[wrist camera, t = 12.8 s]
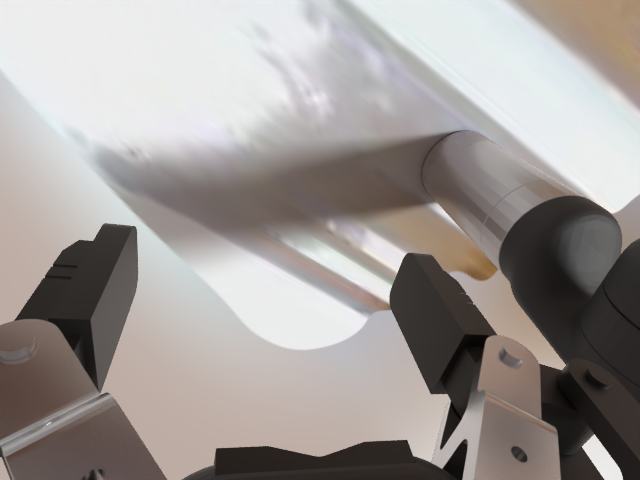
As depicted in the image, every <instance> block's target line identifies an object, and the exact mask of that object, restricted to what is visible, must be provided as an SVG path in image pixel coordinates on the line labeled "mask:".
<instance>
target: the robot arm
mask: <svg viewBox="0 0 640 480" xmlns="http://www.w3.org/2000/svg"><path fill="white" fill-rule="evenodd" d="M422 179H423V184H424V186H425V189H426V190H427V191H428V193H429V194H430V195H431V196H432V197H433V198H434V199H435V200H436V202H437V203H438V204H439V205H440V206H441V207H442V208H443V209H444V211H445V212H446V213H447V214H448V215H449V216H450V217H451V218H452V219H453V220H454V221H455V223H456V224H457V225H458V226H459V227H460V228H461V229H462V230H463V231H464V232H465V233H466V235H467V236H468V237H469V238H470V239H471V240H472V241H473V242H474V243H475V244H476V245H477V247H478V248H479V249H480V250H481V251H482V252H483V253H484V254H485V255H486V256H487V257H488V258H489V259H490V260H491V262H492V263H493V264H494V265H495V266H496V267H497V268H498V269H499V270H500V271H501V272H502V273H503V274H504V275H505V277H506V278H507V279H508V280H509V281H510V284H511V288H512V292H513V295H514V297H515V299H516V301H517V302H518V304H519V305H520V306H521V308H522V309H523V310H524V312H525V313H526V314H527V315H528V316H529V318H530V319H531V320H532V322H533V323H534V324H535V325H536V327H537V328H538V329H539V331H540V332H541V333H542V335H543V336H544V337H545V338H546V340H547V341H548V342H549V343H550V345H551V346H552V347H553V349H554V350H555V351H556V353H557V354H558V355H559V357H560V358H561V359H562V360H563V362H564V363H565V364H566V366H565V367H564V369H563V370H559V369H555V368H552V367H548V366H545V365H541V364H539V363H538V361H537V359H536V358H535V356H534V355H533V354H532V353H531V352H530V351H529V350H528V349H527V348H526V347H524V346H523V345H522V344H520V343H518V342H517V341H515V340H513V339H510V338H508V337H505V336H498V335H497V334H496V333H495V331H494V330H493V329H492V327H491V326H490V324H489V323H488V322H487V320H486V319H485V318H484V316H483V315H482V314H481V312H480V311H479V310H478V308H477V307H476V306H475V305H473V302H472V300H471V299H470V298H469V296H468V295H466V292H465V291H464V289H463V288H462V287H461V285H460V284H459V283H458V282H457V281H456V280H455V279H454V278H453V277H451V276H450V275H449V274H448V273H447V272H445V271H443V269H442V268H441V267H440V265H439V264H438V262H437V261H436V260H435V258H434V257H433V256H432V255H427V254H417V253H408V254H406V255H405V257H404V259H403V261H402V263H401V266H400V268H399V271H398V273H397V276H396V278H395V281H394V283H393V286H392V288H391V292H390V307H391V310H392V312H393V314H394V316H395V318H396V321H397V322H398V325H399V327H400V329H401V331H402V333H403V335H404V337H405V340H406V342H407V344H408V346H409V348H410V350H411V353H412V355H413V357H414V359H415V361H416V363H417V365H418V368H419V370H420V372H421V374H422V376H423V378H424V380H425V382H426V384H427V387H428V389H429V391H430V393H431V394H448V395H449V397H450V400H449V401H448V403H447V405H446V407H445V411H444V414H443V418H442V422H441V427H440V431H439V435H438V438H437V442H436V447H435V450H434V454H433V458H432V461H431V463H430V462H428V461H426V460H423V459H420V458H417V457H414V456H413V455H412V452H411V450H410V446H409V444H408V441H407V440H397V441H373V442H363V443H360V444H357V445H354V446H352V447H349V448H346V449H343V450H340V451H338V452H334V453H332V454H329V455H326V456H322V457H315V456H311V455H306V454H301V453H297V452H292V451H288V450H283V449H278V448H274V447H269V446H263V447H240V448H217V449H216V453H215V461H214V465H213V466H210V467H207V468H204V469H202V470H199V471H197V472H195V473H193V474H191V475H189V476H187V477H186V478H184V479H182V480H604V479H603V477H602V476H601V474H600V473H599V472H598V470H597V468H596V467H595V466H594V464H593V463H592V462H591V460H590V458H589V457H588V456H587V454H586V453H585V451H584V450H583V448H582V446H583V445H584V444H585V443H586V442H587V441H588V440H589V439H590V438H591V437H592V436H593V435H594V434H595V435H596V437H597V438H598V439H599V441H600V442H601V443H602V445H603V446H604V447H605V449H606V450H607V451H608V453H609V454H610V455H611V457H612V458H613V460H614V461H615V462H616V464H617V465H618V467H619V468H620V470H621V472H622V476H623V480H640V239H638V240H636V241H635V242H633V243H631V244H630V245H629V246H628V247H627V248H626V249H625V250H624V251H623V253H622V254H621V247H622V234H621V229H620V226H619V224H618V222H617V220H616V219H615V218H614V217H613V215H612V214H611V213H609V212H608V211H607V210H605V209H604V208H602V207H601V206H599V205H597V204H596V203H594V202H593V201H591V200H589V199H587V198H586V197H584V196H582V195H581V194H579V193H577V192H576V191H574V190H572V189H571V188H569V187H567V186H566V185H564V184H562V183H560V182H559V181H557V180H556V179H554V178H552V177H551V176H549V175H547V174H546V173H544V172H542V171H541V170H539V169H537V168H536V167H534V166H532V165H531V164H529V163H528V162H526V161H524V160H523V159H521V158H519V157H518V156H516V155H514V154H513V153H511V152H509V151H508V150H506V149H504V148H503V147H501V146H500V145H498V144H496V143H495V142H493V141H492V140H490V139H488V138H487V137H485V136H483V135H481V134H479V133H477V132H473V131H460V132H456V133H453V134H451V135H449V136H447V137H445V138H444V139H442V140H441V141H439V142H438V143H437V144H436V145H435V146H434V147H433V149H432V150H431V151H430V153H429V154H428V156H427V158H426V160H425V162H424V166H423V170H422ZM137 254H138V253H137V230H136V227H135V226H126V225H117V224H106V223H105V224H103V225H102V227H101V229H100V230H99V232H98V234H97V235H96V237H95V239H94V241H84V240H79V241H77V242H75V243H74V244H73V245H71V246H69V247H68V248H66V249H64V250H63V251H62V252H61V254H60V255H59V256H58V258H57V259H56V261H55V262H54V264H53V267H51V268H50V269H49V271H48V272H47V274H46V275H45V278H43V280H42V281H41V283H40V284H39V286H38V287H37V288H36V290H35V291H34V293H33V294H32V296H31V297H30V299H29V300H28V301H27V303H26V304H25V306H24V307H23V309H22V310H21V312H20V313H19V315H18V316H17V318H16V319H15V320H14V321H12V322H8V323H5V324H3V325H0V457H2V459H3V462H4V465H5V467H6V469H7V472H8V475H9V477H10V480H167V479H166V477H165V475H164V474H163V472H162V471H161V469H160V468H159V466H158V465H157V463H156V462H155V460H154V459H153V457H152V455H151V454H150V452H149V451H148V449H147V448H146V446H145V445H144V443H143V441H142V440H141V438H140V437H139V435H138V434H137V432H136V431H135V429H134V428H133V426H132V425H131V423H130V421H129V420H128V418H127V417H126V415H125V414H124V412H123V411H122V409H121V408H120V406H119V404H118V403H117V401H116V400H115V399H114V398H113V396H111V394H109V393H105V394H102V395H101V394H100V393H101V390H102V387H103V384H104V382H105V379H106V376H107V373H108V370H109V367H110V364H111V361H112V359H113V356H114V353H115V350H116V347H117V344H118V342H119V339H120V336H121V333H122V330H123V327H124V324H125V322H126V319H127V316H128V313H129V310H130V307H131V304H132V301H133V299H134V296H135V292H136V288H137V281H138V255H137Z"/></svg>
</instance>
